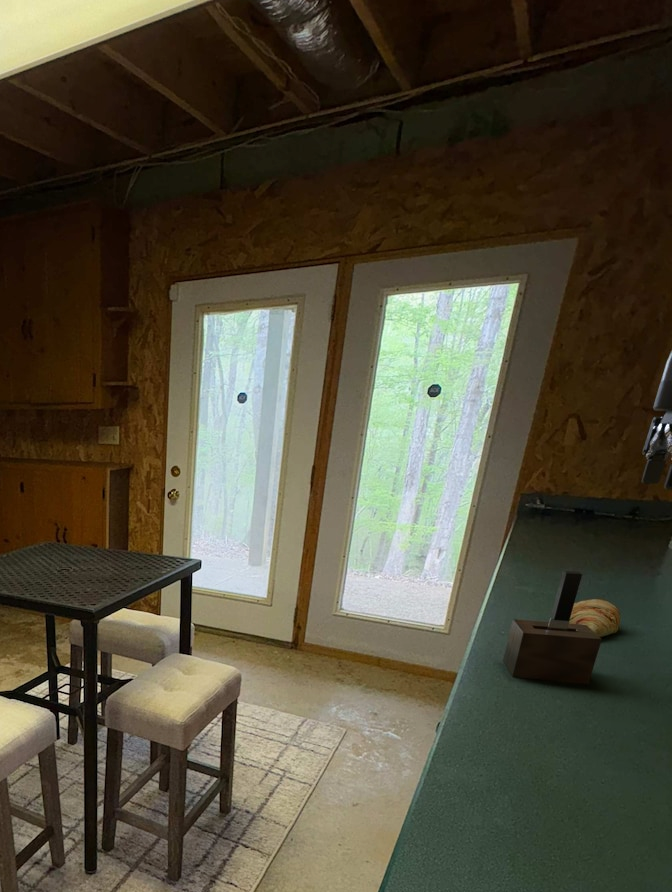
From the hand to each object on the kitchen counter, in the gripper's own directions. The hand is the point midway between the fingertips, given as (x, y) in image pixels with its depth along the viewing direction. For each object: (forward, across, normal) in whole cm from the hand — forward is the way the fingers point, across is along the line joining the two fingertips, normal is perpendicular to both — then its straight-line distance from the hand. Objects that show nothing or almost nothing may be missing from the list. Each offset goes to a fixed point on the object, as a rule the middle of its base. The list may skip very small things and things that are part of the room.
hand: (660, 486), depth 101 cm
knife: (+36, +6, +7) cm, 37 cm away
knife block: (+36, +6, +7) cm, 37 cm away
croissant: (+36, +38, -9) cm, 53 cm away
